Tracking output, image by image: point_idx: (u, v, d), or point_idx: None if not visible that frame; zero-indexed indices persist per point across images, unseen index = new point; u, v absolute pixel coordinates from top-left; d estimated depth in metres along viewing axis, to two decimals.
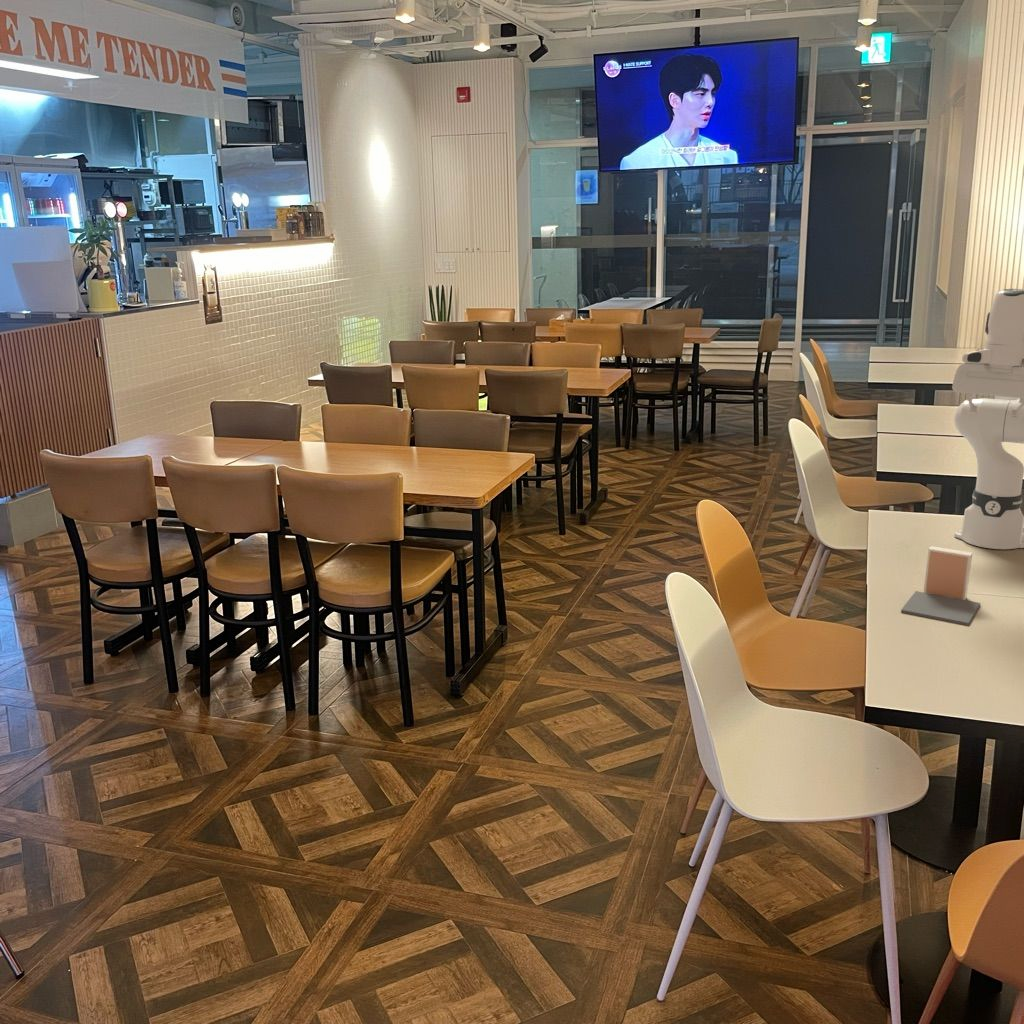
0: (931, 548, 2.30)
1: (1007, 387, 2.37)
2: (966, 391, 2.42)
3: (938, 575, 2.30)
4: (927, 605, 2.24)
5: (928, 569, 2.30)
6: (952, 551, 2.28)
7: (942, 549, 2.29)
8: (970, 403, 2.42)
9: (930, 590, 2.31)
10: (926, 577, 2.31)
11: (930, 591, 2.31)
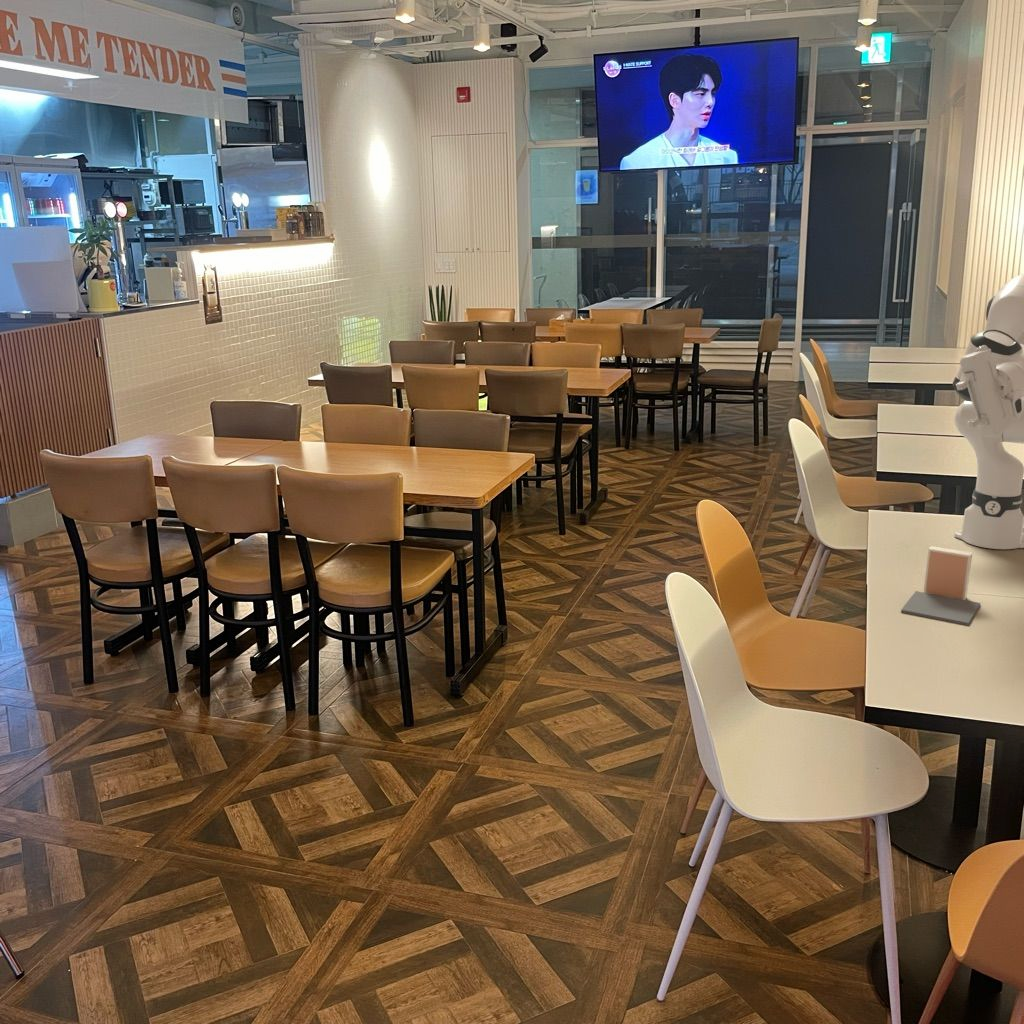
0: (931, 548, 2.30)
1: None
2: None
3: (938, 575, 2.30)
4: (927, 605, 2.24)
5: (928, 569, 2.30)
6: (952, 551, 2.28)
7: (942, 549, 2.29)
8: None
9: (930, 590, 2.31)
10: (926, 577, 2.31)
11: (930, 591, 2.31)
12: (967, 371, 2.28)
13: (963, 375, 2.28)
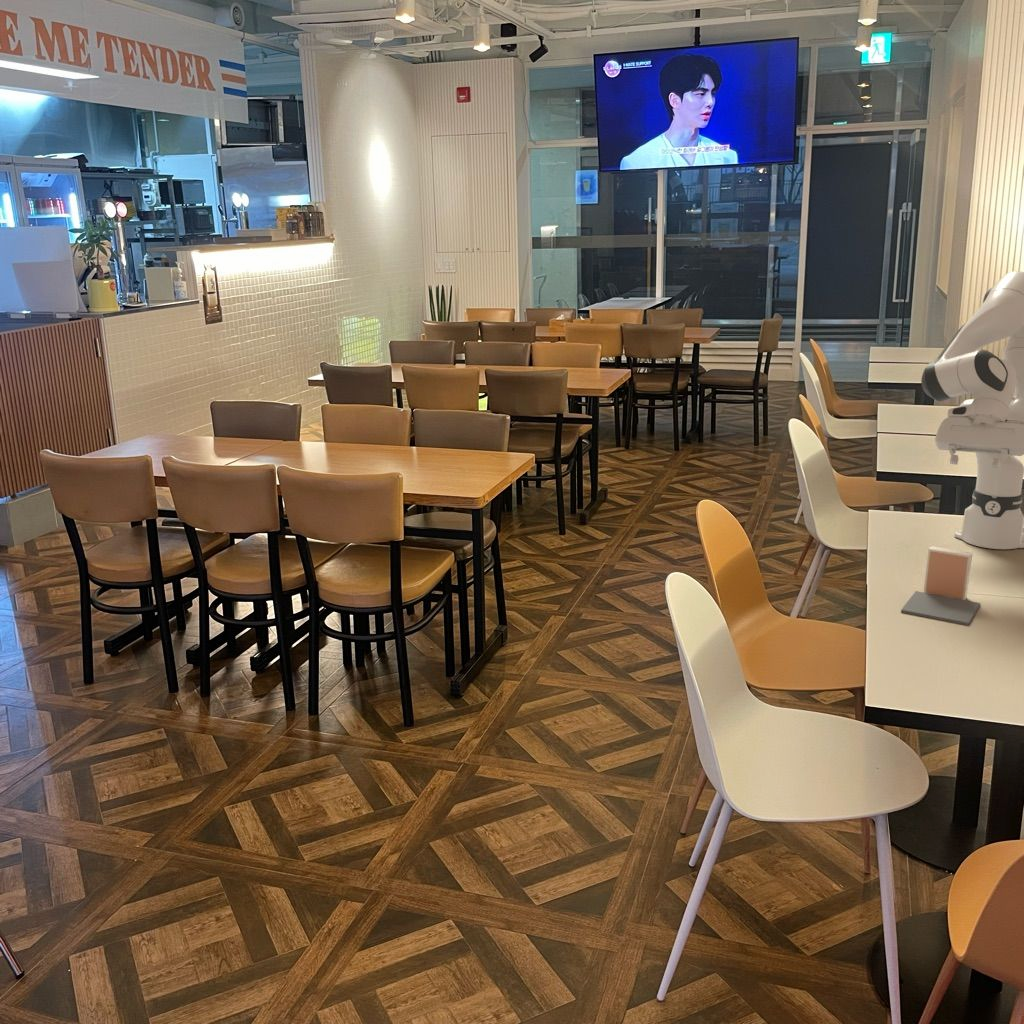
0: (931, 548, 2.30)
1: (989, 438, 2.37)
2: (949, 441, 2.41)
3: (938, 575, 2.30)
4: (927, 605, 2.24)
5: (928, 569, 2.30)
6: (952, 551, 2.28)
7: (942, 549, 2.29)
8: (952, 453, 2.40)
9: (930, 590, 2.31)
10: (926, 577, 2.31)
11: (930, 591, 2.31)
12: (1009, 450, 2.34)
13: (1006, 455, 2.34)
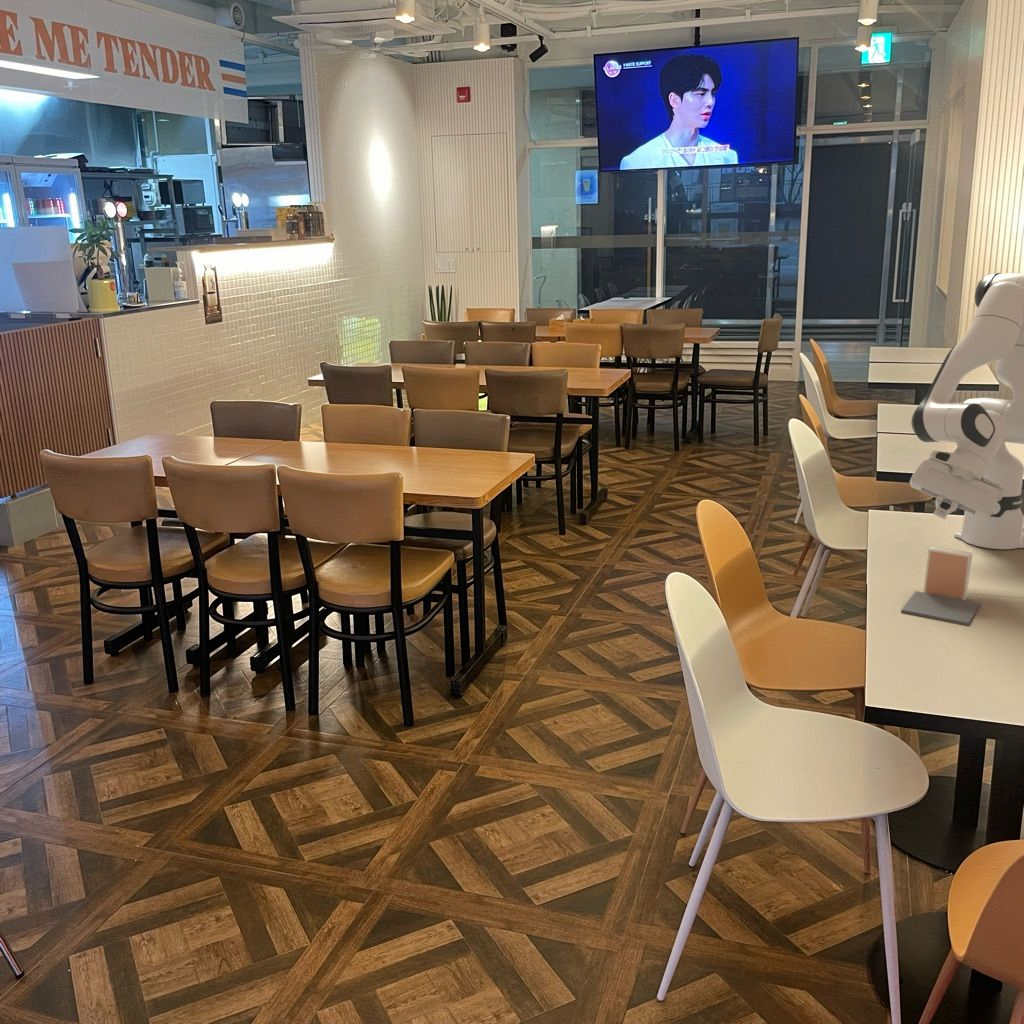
0: (931, 548, 2.30)
1: (962, 494, 2.40)
2: (923, 484, 2.44)
3: (938, 575, 2.30)
4: (927, 605, 2.24)
5: (928, 569, 2.30)
6: (952, 551, 2.28)
7: (942, 549, 2.29)
8: (938, 504, 2.42)
9: (930, 590, 2.31)
10: (926, 577, 2.31)
11: (930, 591, 2.31)
12: (975, 512, 2.39)
13: (955, 508, 2.41)
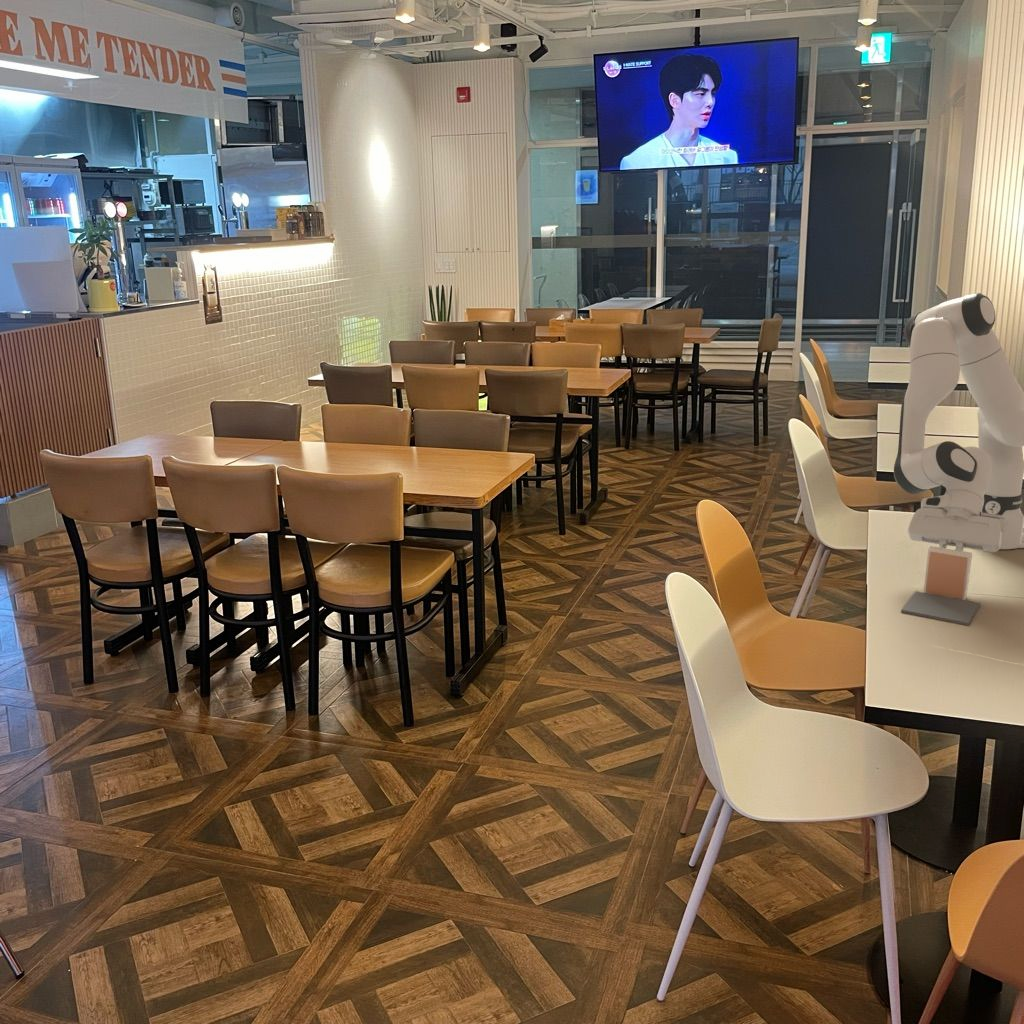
0: (931, 548, 2.30)
1: (963, 532, 2.31)
2: (921, 533, 2.35)
3: (937, 575, 2.29)
4: (927, 605, 2.24)
5: (928, 569, 2.30)
6: (952, 551, 2.27)
7: (942, 549, 2.29)
8: None
9: (930, 590, 2.31)
10: (926, 577, 2.31)
11: (930, 591, 2.31)
12: (982, 547, 2.28)
13: (961, 548, 2.30)
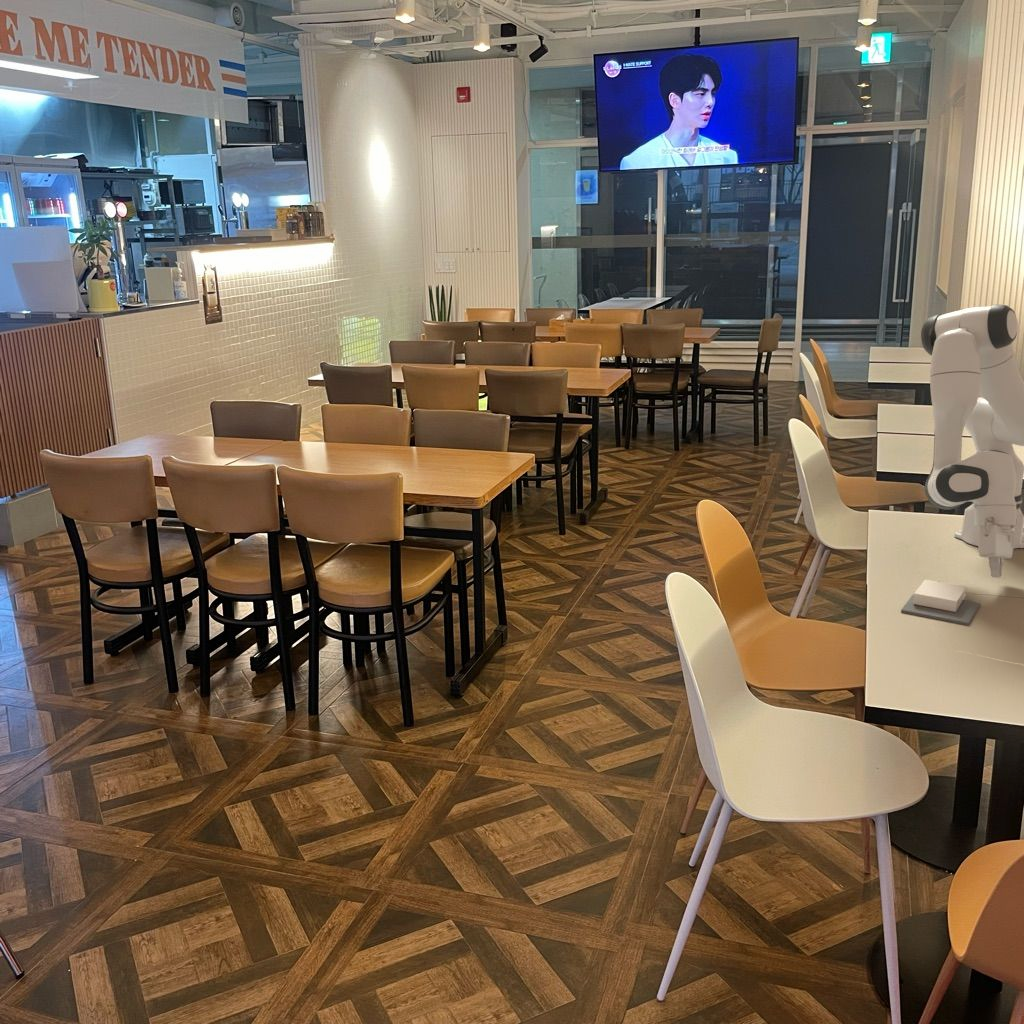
0: (915, 601, 2.23)
1: None
2: None
3: None
4: None
5: None
6: (936, 604, 2.21)
7: (926, 600, 2.22)
8: None
9: None
10: None
11: None
12: None
13: (991, 563, 2.30)
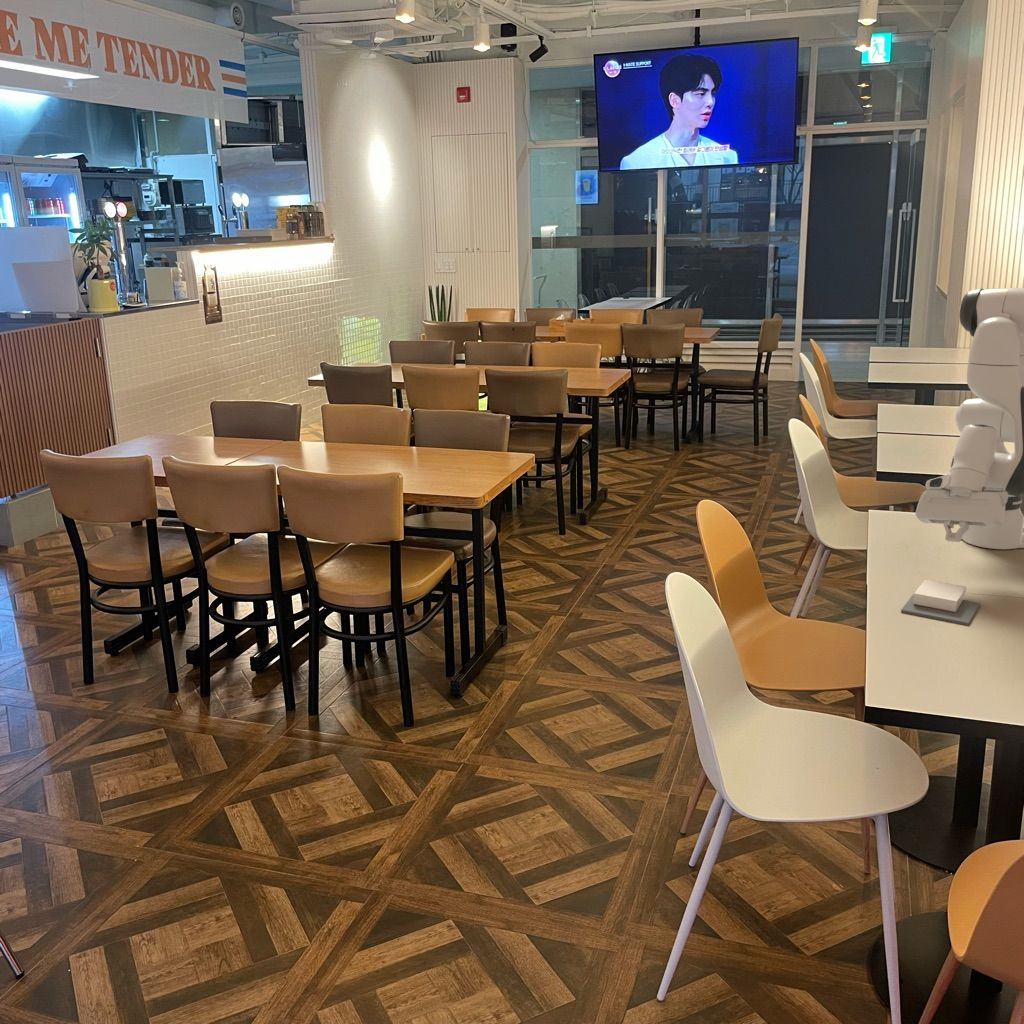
0: (915, 601, 2.23)
1: (964, 511, 2.32)
2: (927, 516, 2.38)
3: None
4: None
5: None
6: (936, 604, 2.21)
7: (926, 600, 2.22)
8: (947, 530, 2.34)
9: None
10: None
11: None
12: (984, 523, 2.29)
13: (964, 527, 2.32)
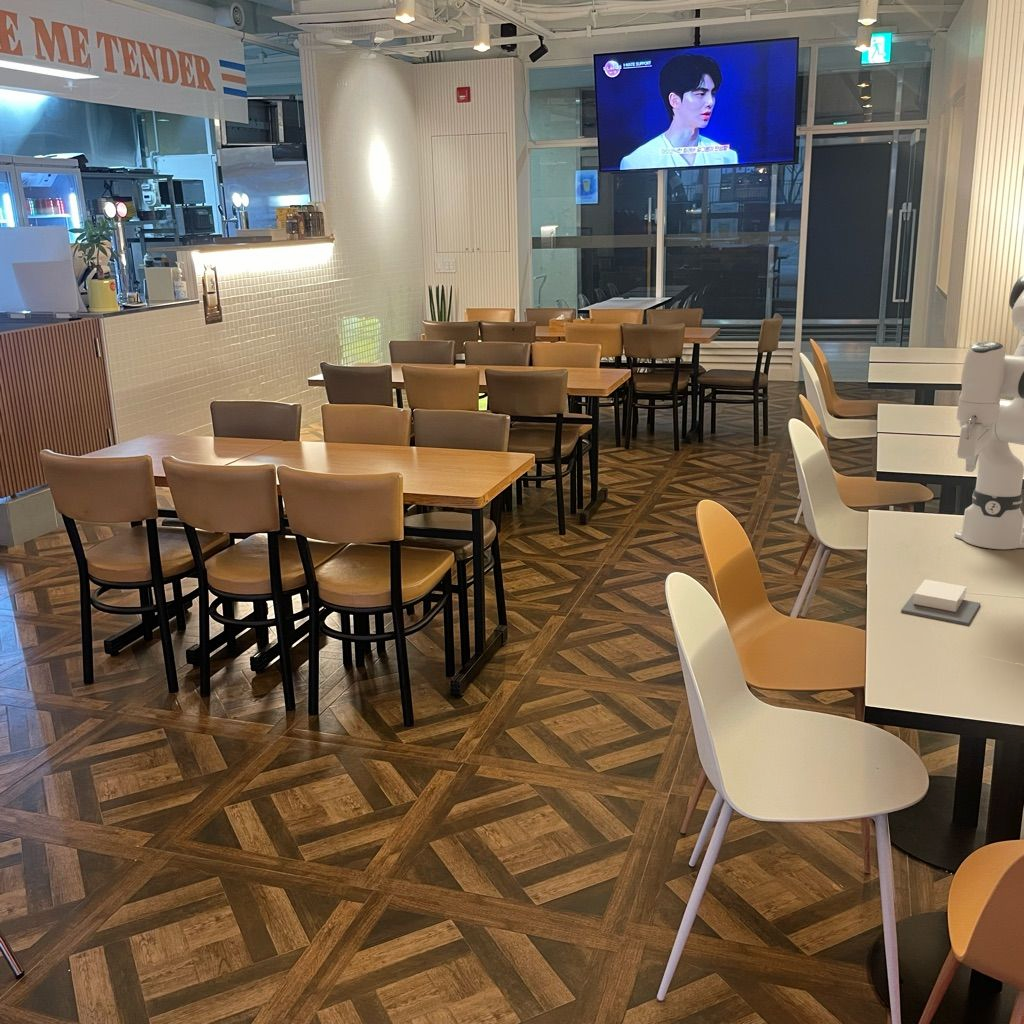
0: (915, 601, 2.23)
1: None
2: None
3: None
4: None
5: None
6: (936, 604, 2.21)
7: (926, 600, 2.22)
8: None
9: None
10: None
11: None
12: None
13: (967, 458, 2.32)
